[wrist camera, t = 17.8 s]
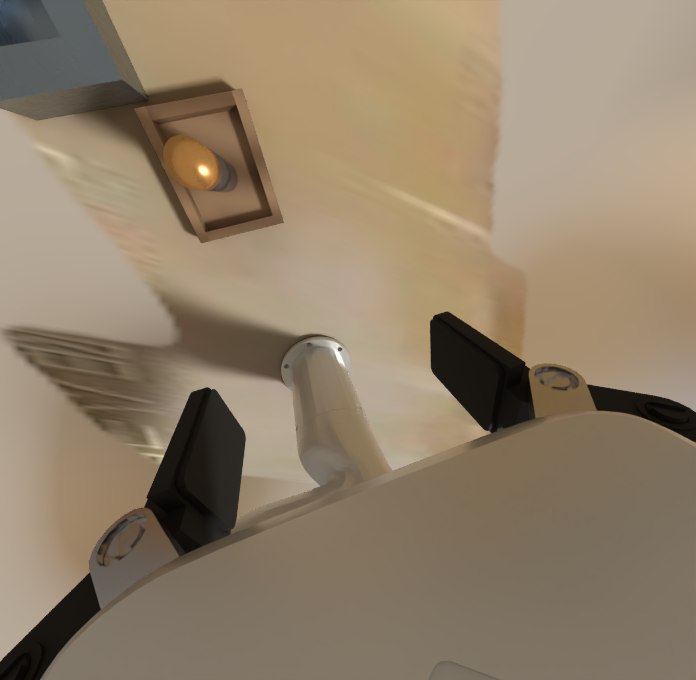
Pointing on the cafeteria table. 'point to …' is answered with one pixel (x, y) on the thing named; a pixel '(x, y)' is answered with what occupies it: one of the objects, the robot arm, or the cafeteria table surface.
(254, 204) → the tray
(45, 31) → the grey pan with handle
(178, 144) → the orange grey cylinder
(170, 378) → the cafeteria table surface
